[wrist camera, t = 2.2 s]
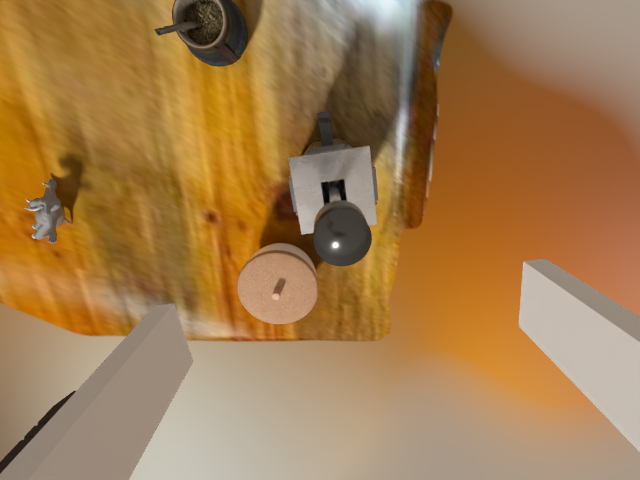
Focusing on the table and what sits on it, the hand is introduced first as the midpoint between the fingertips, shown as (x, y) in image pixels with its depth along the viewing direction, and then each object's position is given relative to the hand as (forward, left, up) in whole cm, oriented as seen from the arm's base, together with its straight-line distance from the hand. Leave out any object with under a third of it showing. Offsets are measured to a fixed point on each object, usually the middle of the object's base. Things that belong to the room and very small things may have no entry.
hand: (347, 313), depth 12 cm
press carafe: (-2, 0, -35) cm, 35 cm away
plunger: (0, 0, -26) cm, 26 cm away
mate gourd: (-18, -11, -35) cm, 41 cm away
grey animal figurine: (0, -39, -35) cm, 52 cm away
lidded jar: (+13, -9, -35) cm, 39 cm away
